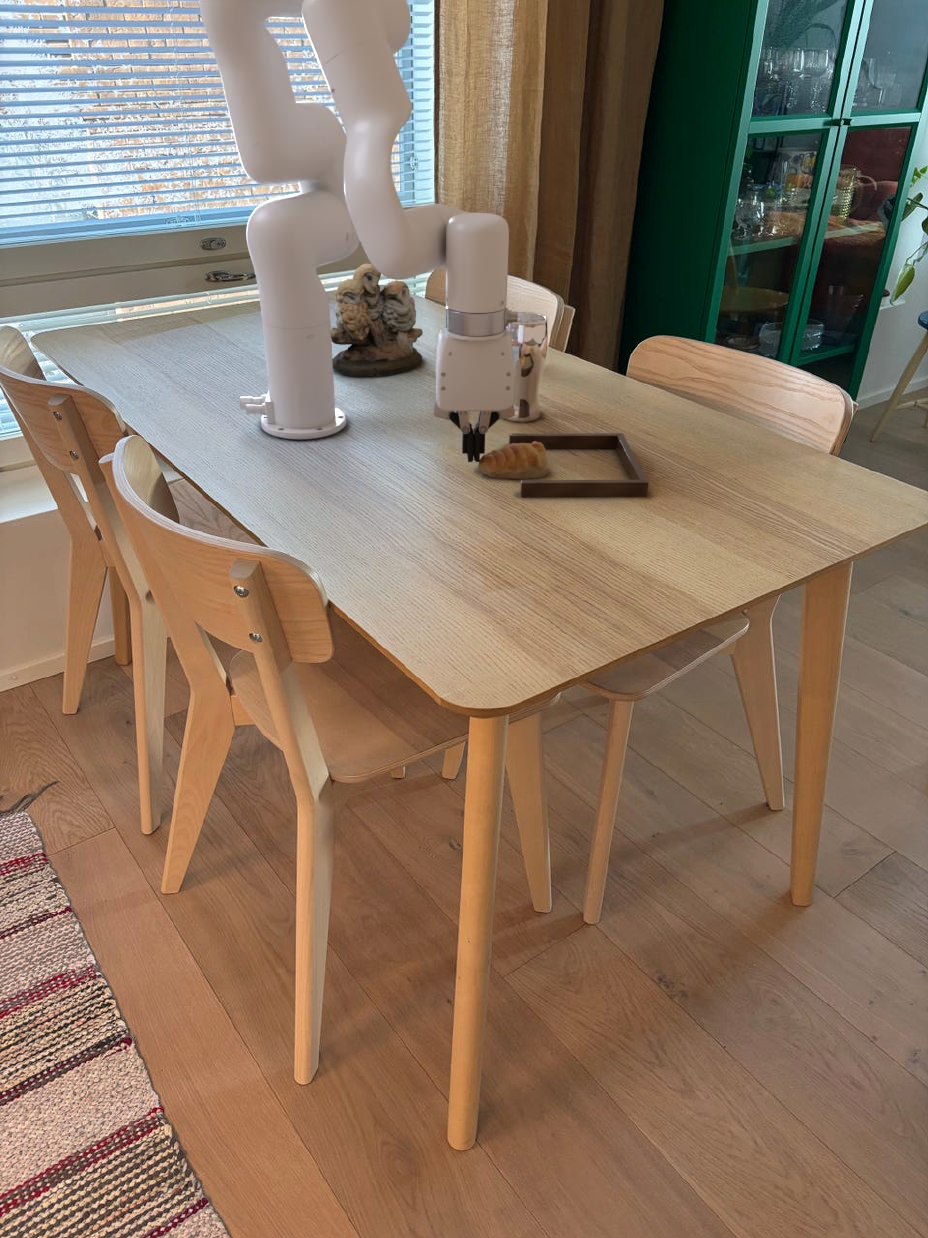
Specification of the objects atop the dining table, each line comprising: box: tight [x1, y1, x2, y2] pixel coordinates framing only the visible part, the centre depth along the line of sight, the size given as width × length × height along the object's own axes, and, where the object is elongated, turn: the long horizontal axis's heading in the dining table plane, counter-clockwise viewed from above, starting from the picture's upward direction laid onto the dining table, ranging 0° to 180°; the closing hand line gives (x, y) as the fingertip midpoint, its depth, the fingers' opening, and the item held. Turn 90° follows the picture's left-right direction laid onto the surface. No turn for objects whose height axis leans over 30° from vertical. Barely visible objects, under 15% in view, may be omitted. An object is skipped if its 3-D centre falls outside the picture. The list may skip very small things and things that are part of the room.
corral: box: [508, 432, 649, 498], centre depth 131 cm, size 16×17×2 cm
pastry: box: [477, 441, 550, 480], centre depth 130 cm, size 9×7×4 cm
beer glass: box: [504, 311, 549, 423], centre depth 144 cm, size 7×7×15 cm
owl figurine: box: [331, 263, 424, 378], centre depth 163 cm, size 18×12×17 cm, turn 126°
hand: (473, 457), depth 129 cm, fingers closed
